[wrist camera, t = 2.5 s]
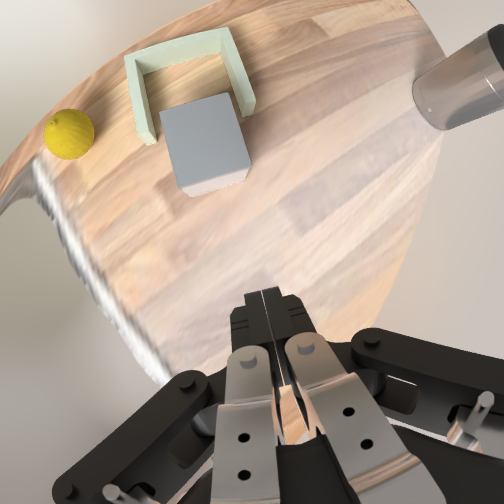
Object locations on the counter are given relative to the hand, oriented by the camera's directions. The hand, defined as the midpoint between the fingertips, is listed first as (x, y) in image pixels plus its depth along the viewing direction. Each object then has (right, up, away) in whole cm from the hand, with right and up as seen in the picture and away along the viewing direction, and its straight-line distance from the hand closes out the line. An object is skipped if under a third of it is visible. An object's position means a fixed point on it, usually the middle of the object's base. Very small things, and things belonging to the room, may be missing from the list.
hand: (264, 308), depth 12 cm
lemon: (-21, +16, +16) cm, 31 cm away
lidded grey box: (-5, +12, +18) cm, 22 cm away
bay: (-8, +22, +17) cm, 28 cm away
